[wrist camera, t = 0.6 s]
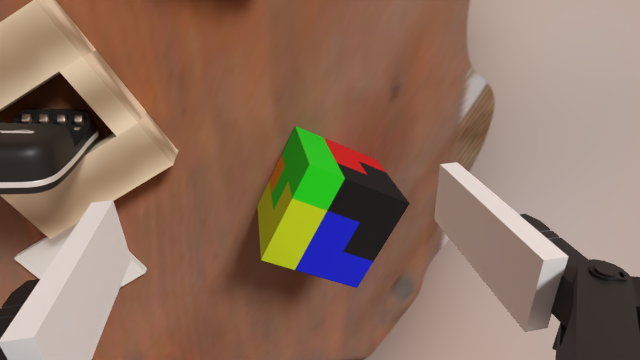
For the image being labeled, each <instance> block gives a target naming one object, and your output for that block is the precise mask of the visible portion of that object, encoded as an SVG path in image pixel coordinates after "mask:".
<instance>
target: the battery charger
mask: <svg viewBox="0 0 640 360" xmlns="http://www.w3.org/2000/svg"><path fill="white" fill-rule="evenodd" d="M98 136H99V132H98V131H97V126H96V123H95V120H94V118H93V117H92V115H91V114H90V113H88V112H87V111H84V110H72V109H37V108H30V109H23V110H21V111H19V112H18V113H17V114H16V115H15V117H14V118H13V120H12V122H11V123H0V195H1V194H35V193H41V192H45V191H48V190H51V189H53V188H55V187H56V186H58V185H59V184H60V183H61V182H62V181H63V180H64V179H65V178H66V177H67V176H68V175H69V174H70V173H71V172H72V171H73V170H74V169H75V167H76V166H77V165H78V164H79V162H80V161H81V160H82V159H83V157H84V156H85V154H86V153H87V152H88V151H89V150H90V149H91V148H92V146H93V145H94V144H95V143H96V142H97V141H98Z"/></svg>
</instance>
